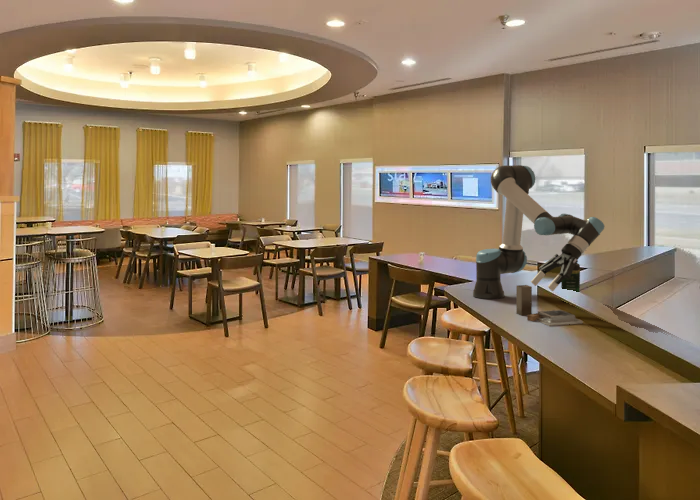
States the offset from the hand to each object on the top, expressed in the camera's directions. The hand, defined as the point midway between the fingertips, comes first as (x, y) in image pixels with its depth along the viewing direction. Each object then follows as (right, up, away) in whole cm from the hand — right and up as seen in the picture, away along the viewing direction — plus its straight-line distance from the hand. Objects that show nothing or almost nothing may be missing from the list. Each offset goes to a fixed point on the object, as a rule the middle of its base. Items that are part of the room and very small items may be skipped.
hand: (541, 286), depth 213 cm
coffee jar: (+23, -9, +24) cm, 34 cm away
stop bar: (-7, -12, +1) cm, 14 cm away
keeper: (+2, -13, -11) cm, 17 cm away
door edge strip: (-1, -12, -6) cm, 14 cm away
